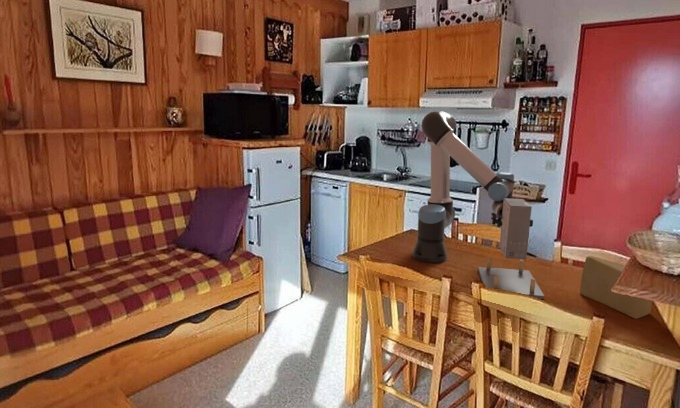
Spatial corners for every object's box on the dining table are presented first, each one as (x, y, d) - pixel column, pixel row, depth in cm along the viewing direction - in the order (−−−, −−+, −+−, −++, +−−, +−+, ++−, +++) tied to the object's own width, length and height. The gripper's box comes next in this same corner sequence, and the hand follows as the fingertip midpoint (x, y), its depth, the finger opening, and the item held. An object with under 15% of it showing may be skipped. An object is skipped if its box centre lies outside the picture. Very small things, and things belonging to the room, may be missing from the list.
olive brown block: (572, 295, 166) (577, 256, 163) (588, 290, 171) (593, 252, 167) (635, 320, 147) (642, 276, 144) (651, 314, 152) (658, 271, 149)
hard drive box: (526, 260, 165) (532, 207, 161) (504, 259, 167) (509, 205, 162) (518, 247, 180) (523, 198, 176) (498, 246, 181) (502, 197, 177)
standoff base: (485, 294, 165) (487, 278, 164) (478, 270, 190) (479, 255, 189) (544, 299, 162) (546, 282, 160) (528, 273, 187) (530, 258, 185)
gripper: (530, 223, 189) (544, 238, 167) (480, 220, 193) (486, 235, 171) (532, 205, 188) (546, 218, 166) (481, 203, 191) (488, 215, 169)
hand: (516, 227), depth 168 cm, fingers closed on hard drive box, 7 cm apart
